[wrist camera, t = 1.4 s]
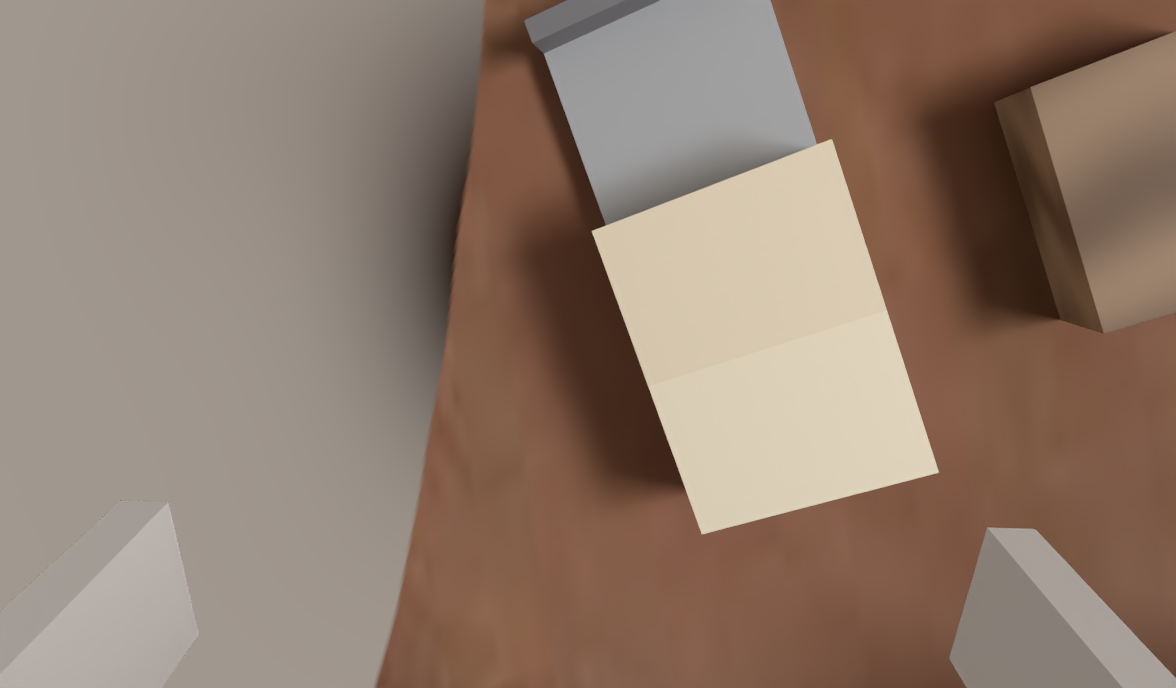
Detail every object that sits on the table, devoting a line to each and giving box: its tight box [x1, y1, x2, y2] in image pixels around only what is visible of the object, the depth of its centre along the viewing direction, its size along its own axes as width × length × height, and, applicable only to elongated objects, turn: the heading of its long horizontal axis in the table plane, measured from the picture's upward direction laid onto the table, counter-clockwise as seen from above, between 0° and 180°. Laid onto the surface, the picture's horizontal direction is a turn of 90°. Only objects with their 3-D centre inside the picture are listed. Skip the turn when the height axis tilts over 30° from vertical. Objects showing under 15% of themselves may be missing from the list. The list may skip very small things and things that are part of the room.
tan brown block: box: [994, 31, 1176, 333], centre depth 28 cm, size 10×7×4 cm
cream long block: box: [524, 0, 939, 534], centre depth 31 cm, size 10×24×5 cm, turn 21°
